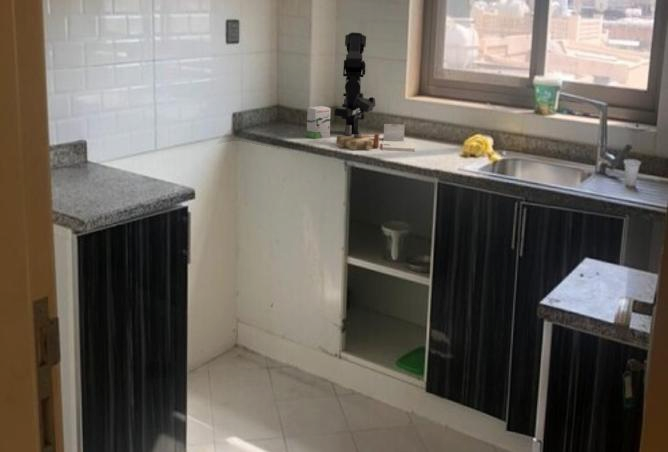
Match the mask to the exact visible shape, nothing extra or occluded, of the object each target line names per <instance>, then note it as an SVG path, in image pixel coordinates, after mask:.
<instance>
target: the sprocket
mask: <svg viewBox="0 0 668 452" xmlns="http://www.w3.org/2000/svg"><path fill="white" fill-rule="evenodd" d="M344 130H345V134H343V135H337V136H336V145H337V147H338V148H346V149H350V150H353V151H355V150H356V151H357V150H366V151H368V150H372V149H373V148H377V149H378V148H379V147H380V133H376V132H375V133H374V135H367V134H365V133H359V134H351V132H352V125H345V124H344Z"/></svg>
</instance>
